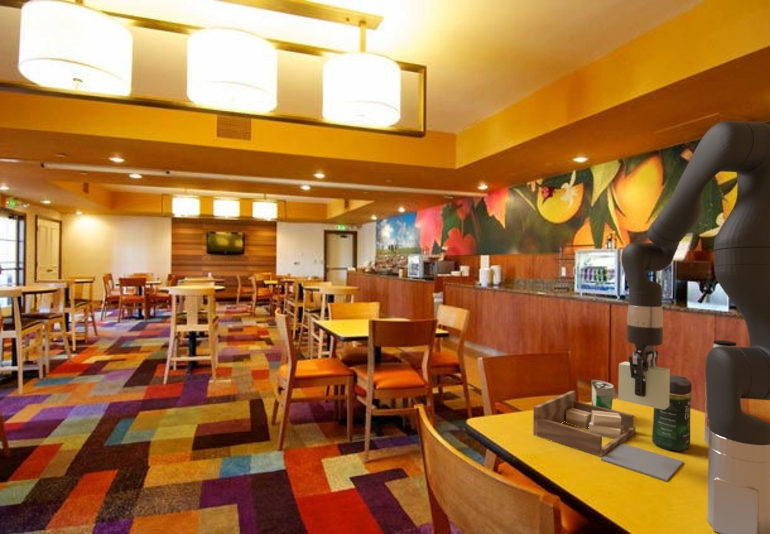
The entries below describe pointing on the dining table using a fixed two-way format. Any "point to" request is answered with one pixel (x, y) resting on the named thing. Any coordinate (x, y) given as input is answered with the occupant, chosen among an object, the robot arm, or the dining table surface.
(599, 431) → the offcut
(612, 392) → the food container
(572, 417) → the offcut
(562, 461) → the dining table surface
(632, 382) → the block
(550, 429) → the tray
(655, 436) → the coffee jar
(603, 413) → the offcut
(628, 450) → the mat
